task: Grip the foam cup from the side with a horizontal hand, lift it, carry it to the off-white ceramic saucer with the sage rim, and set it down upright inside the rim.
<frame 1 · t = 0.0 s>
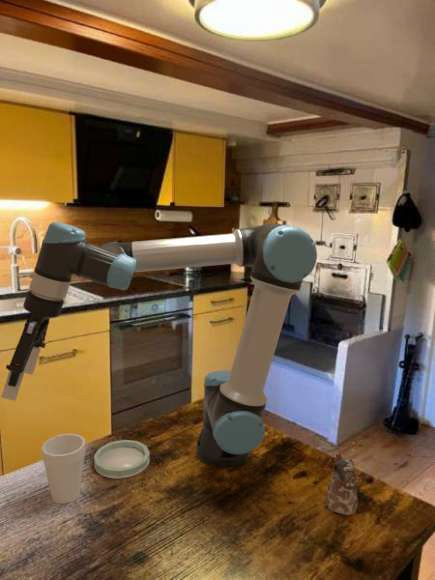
hand: (18, 384, 94), 28 cm above the table, tool tilted 20°, fingers open, 13 cm apart
ceramic saucer: (122, 461, 115), on the table
foam cup: (66, 495, 101), on the table
figurine: (340, 504, 101), on the table
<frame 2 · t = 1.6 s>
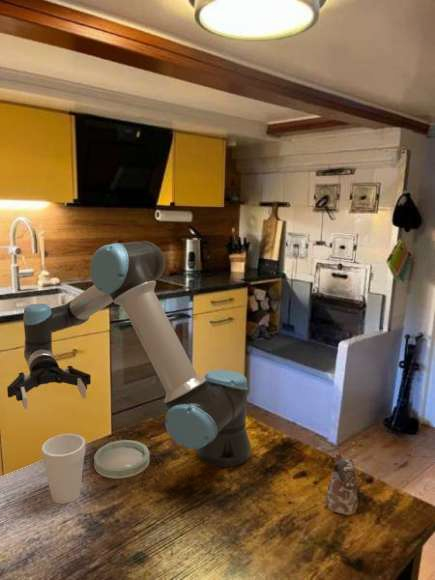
hand: (55, 398, 105), 20 cm above the table, tool horizontal, fingers open, 13 cm apart
nothing on the table moved.
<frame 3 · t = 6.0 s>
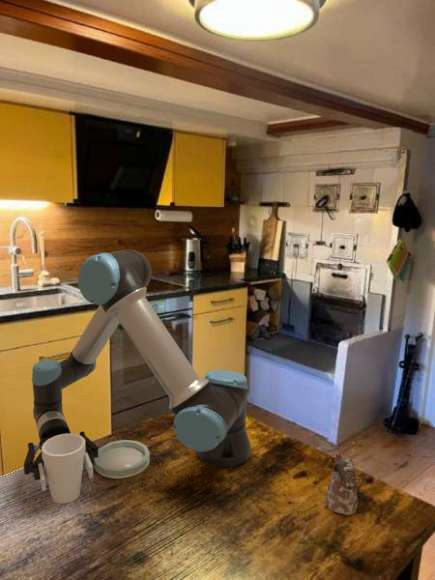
hand: (68, 478, 96), 7 cm above the table, tool horizontal, fingers closed on foam cup, 9 cm apart
foam cup: (66, 495, 101), on the table, touching gripper
everything else where it was.
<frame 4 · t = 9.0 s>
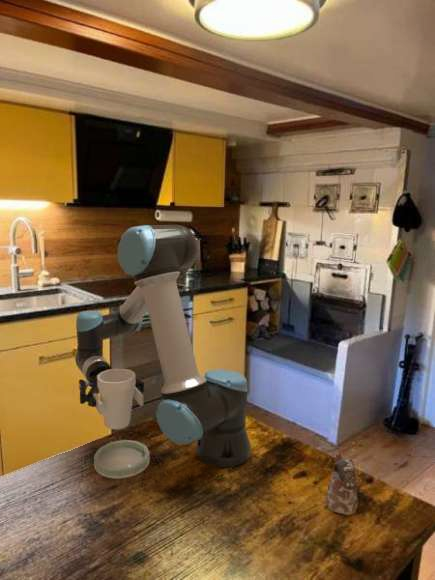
hand: (122, 404, 106), 19 cm above the table, tool horizontal, fingers closed on foam cup, 9 cm apart
foam cup: (117, 423, 111), point 12 cm above the table, touching gripper
everything else where it was.
when the fingers open (9 cm above the table, at t = 12.1 s): foam cup drops 1 cm, resting on ceramic saucer.
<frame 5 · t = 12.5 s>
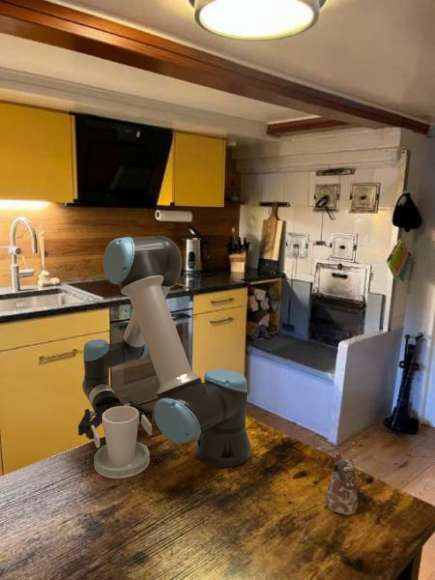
hand: (125, 436, 110), 9 cm above the table, tool horizontal, fingers open, 13 cm apart
foam cup: (121, 459, 115), resting on ceramic saucer
everything else where it was.
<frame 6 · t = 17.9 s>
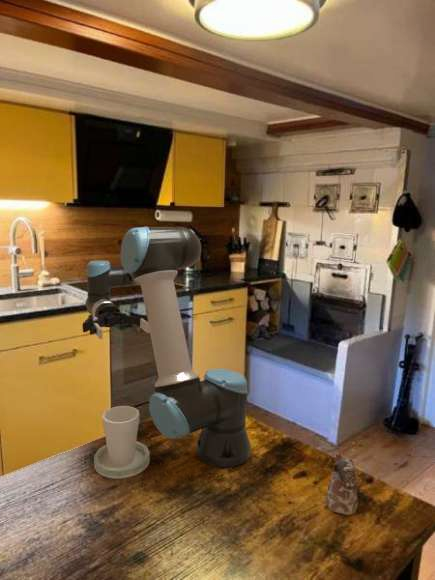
hand: (125, 331, 121), 32 cm above the table, tool horizontal, fingers open, 13 cm apart
nothing on the table moved.
at the end: foam cup 0.2 cm off-centre on the ceramic saucer, point 0.4 cm above the ceramic saucer's base; foam cup tilted 0°; the gripper is holding nothing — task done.
